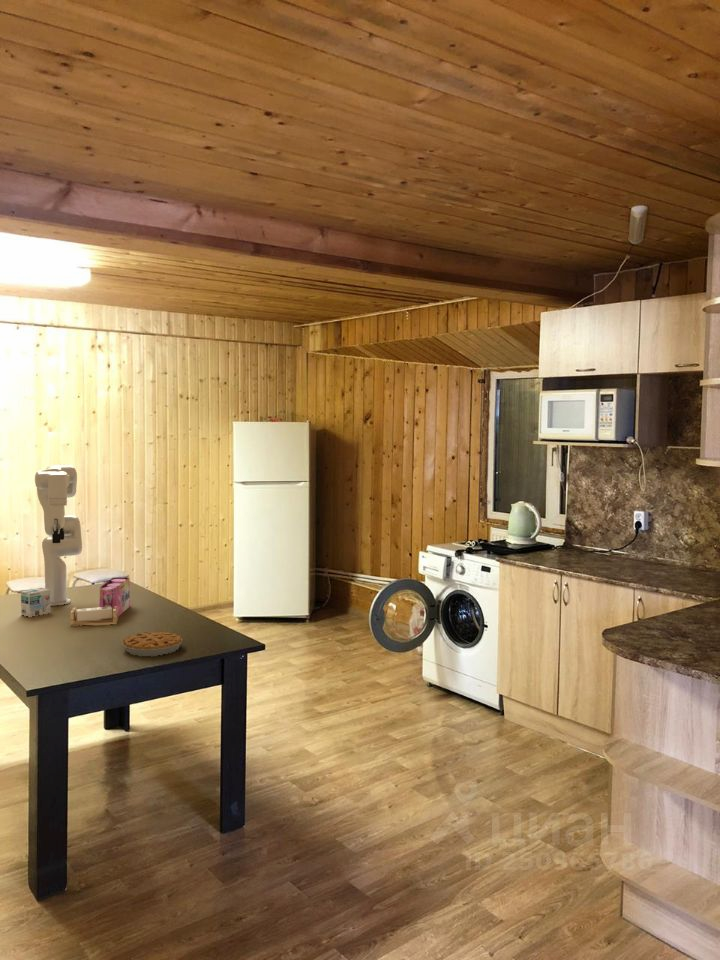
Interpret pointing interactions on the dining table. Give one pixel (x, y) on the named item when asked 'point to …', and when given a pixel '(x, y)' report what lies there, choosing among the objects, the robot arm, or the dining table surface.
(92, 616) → the power strip
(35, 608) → the light bulb box
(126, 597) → the gum box
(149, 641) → the pie
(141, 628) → the dining table surface
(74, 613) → the cradle
